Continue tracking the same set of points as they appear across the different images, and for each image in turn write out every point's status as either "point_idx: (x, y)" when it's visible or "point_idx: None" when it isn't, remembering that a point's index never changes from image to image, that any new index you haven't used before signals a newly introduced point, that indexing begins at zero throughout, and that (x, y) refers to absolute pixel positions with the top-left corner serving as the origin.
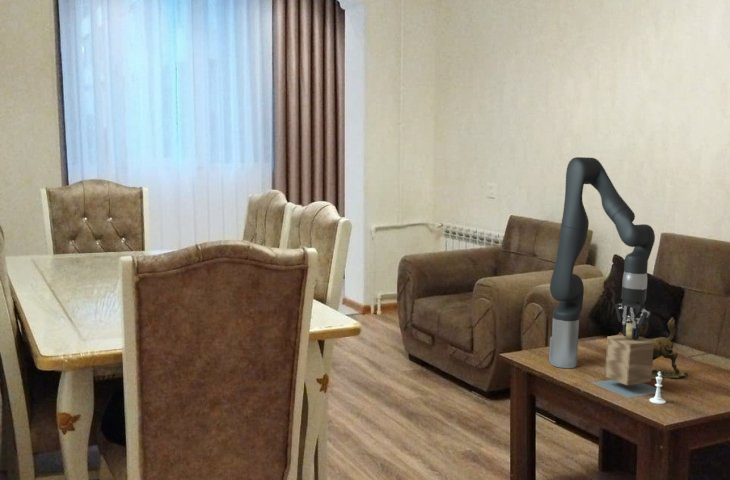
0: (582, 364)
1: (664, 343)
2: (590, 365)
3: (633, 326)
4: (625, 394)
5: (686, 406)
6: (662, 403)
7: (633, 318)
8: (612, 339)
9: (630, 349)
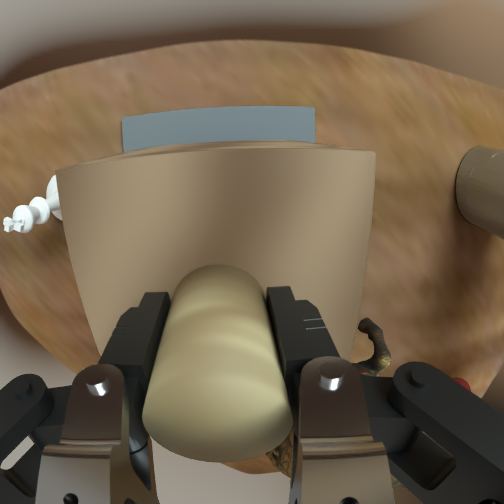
0: (459, 241)
1: (288, 461)
2: (444, 257)
3: (114, 381)
4: (154, 132)
5: (34, 255)
6: (46, 194)
7: (51, 479)
8: (302, 149)
9: (76, 164)
